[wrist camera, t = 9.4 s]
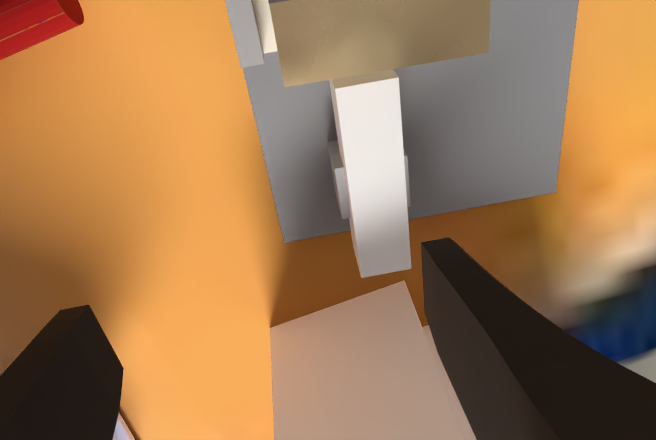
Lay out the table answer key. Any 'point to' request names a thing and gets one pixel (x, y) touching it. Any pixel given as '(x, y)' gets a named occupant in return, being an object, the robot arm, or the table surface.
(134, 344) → the table surface
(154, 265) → the table surface
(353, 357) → the corner bracket
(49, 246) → the table surface
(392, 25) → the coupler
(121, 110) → the table surface
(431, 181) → the shaft stand
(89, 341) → the robot arm
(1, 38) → the mechanical clamp
